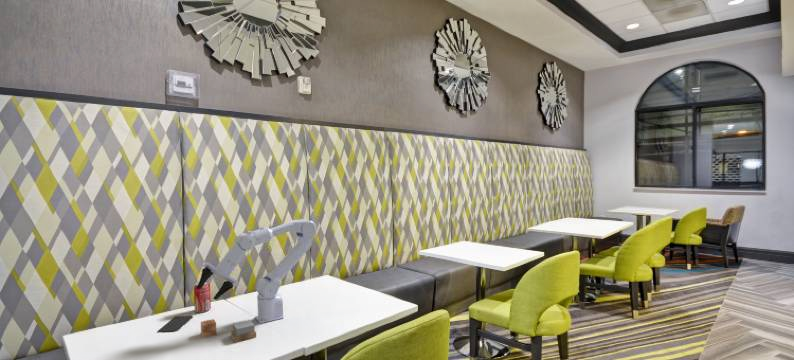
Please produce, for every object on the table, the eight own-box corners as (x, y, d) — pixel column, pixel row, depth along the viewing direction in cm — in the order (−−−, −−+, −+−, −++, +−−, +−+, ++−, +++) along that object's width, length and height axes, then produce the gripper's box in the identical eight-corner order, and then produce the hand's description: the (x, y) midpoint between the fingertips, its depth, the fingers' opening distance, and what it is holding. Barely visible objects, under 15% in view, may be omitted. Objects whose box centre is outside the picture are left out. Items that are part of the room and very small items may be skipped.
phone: (156, 331, 148) (175, 316, 163) (156, 334, 148) (175, 318, 163) (176, 330, 148) (193, 315, 163) (177, 332, 148) (193, 317, 163)
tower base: (251, 332, 148) (251, 325, 148) (256, 338, 142) (256, 332, 142) (231, 337, 144) (231, 330, 144) (235, 344, 138) (235, 337, 138)
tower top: (250, 326, 147) (249, 319, 147) (254, 331, 142) (254, 324, 142) (233, 330, 144) (232, 323, 144) (237, 336, 139) (236, 329, 139)
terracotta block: (214, 330, 149) (213, 318, 149) (216, 334, 145) (216, 322, 145) (201, 333, 146) (200, 321, 146) (203, 338, 143) (202, 325, 142)
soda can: (200, 314, 166) (199, 285, 165) (191, 311, 169) (190, 283, 169) (214, 309, 171) (213, 282, 171) (205, 306, 174) (204, 280, 174)
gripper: (210, 250, 148) (186, 282, 143) (242, 269, 146) (218, 303, 141) (217, 253, 154) (194, 284, 150) (247, 272, 153) (225, 304, 148)
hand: (206, 293), depth 146 cm, fingers open, 7 cm apart
